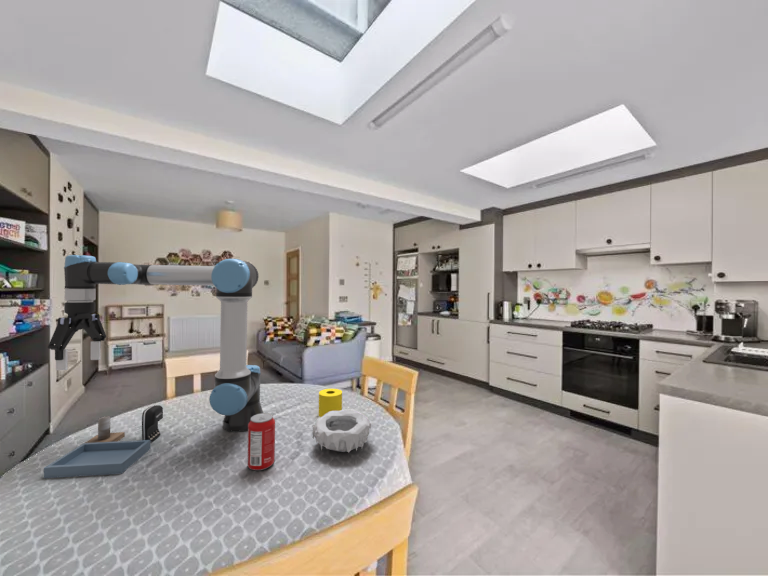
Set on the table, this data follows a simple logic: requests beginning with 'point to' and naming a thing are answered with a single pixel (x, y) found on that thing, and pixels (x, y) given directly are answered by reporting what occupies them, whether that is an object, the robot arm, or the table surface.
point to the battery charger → (151, 422)
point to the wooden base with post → (106, 432)
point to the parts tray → (98, 459)
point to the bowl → (342, 430)
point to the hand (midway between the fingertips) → (79, 364)
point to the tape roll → (329, 401)
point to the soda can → (261, 441)
